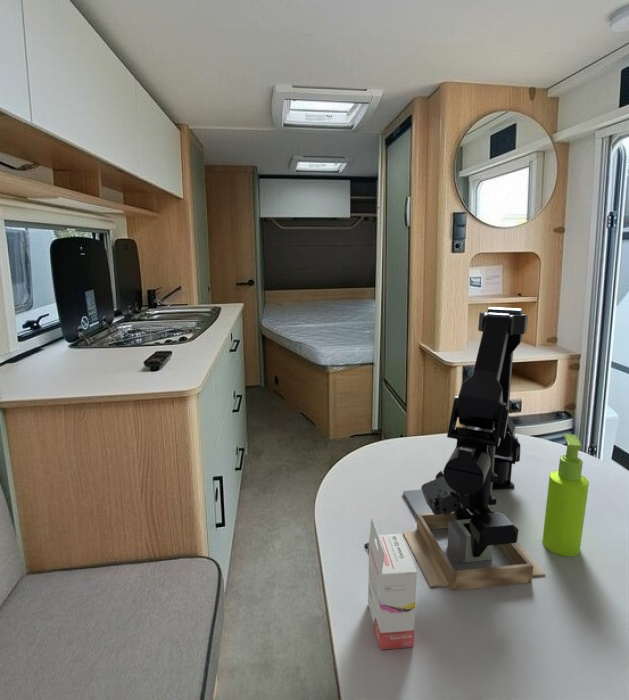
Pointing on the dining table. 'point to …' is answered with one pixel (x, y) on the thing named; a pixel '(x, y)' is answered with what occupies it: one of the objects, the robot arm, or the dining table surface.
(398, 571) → the ink cartridge box
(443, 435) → the dining table surface
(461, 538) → the box
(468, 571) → the wooden frame
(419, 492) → the coaster
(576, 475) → the soap dispenser
